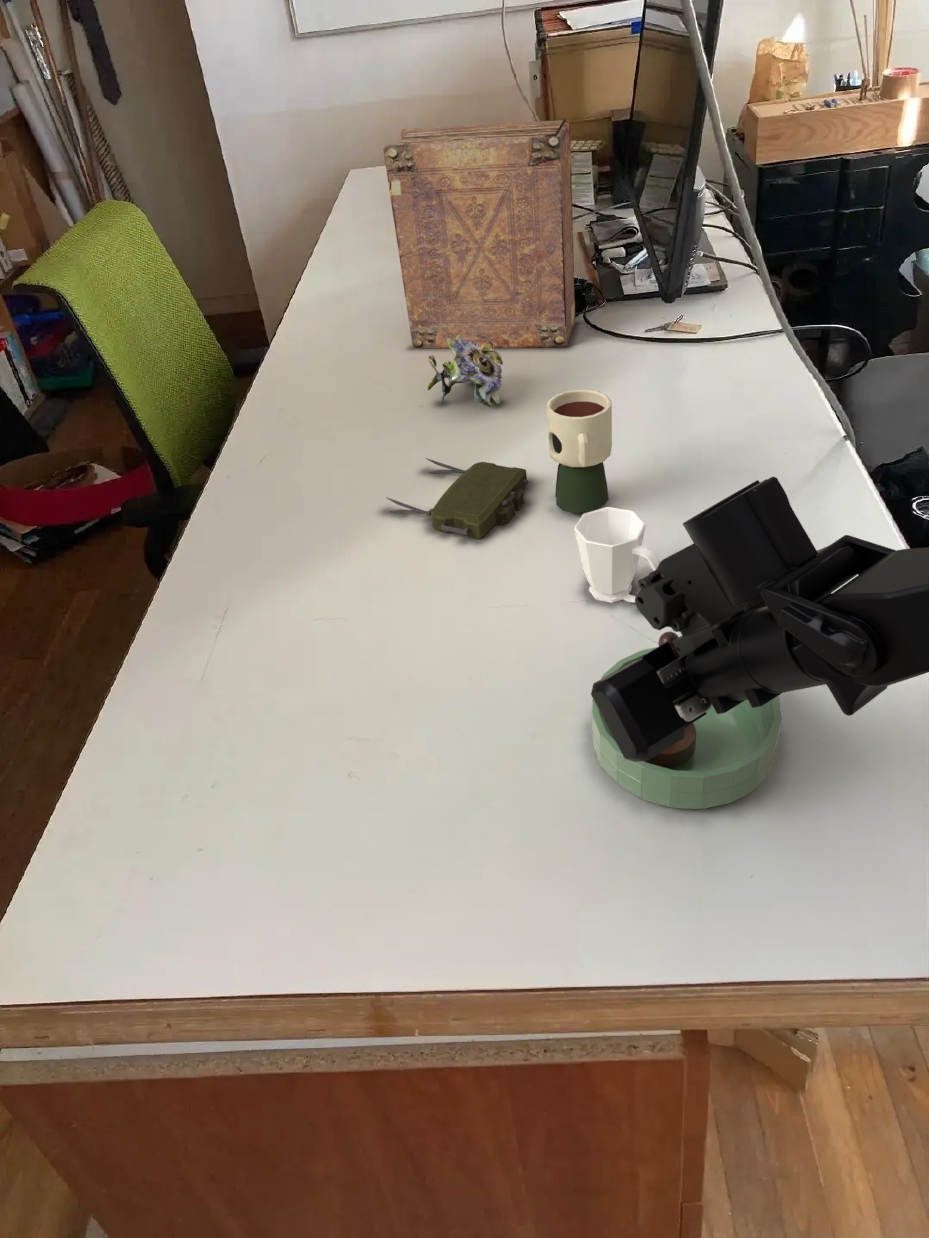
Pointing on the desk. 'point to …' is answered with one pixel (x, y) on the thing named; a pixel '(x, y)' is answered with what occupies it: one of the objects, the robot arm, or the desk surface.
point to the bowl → (699, 756)
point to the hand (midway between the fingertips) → (655, 681)
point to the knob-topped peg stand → (685, 746)
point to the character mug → (580, 447)
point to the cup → (611, 551)
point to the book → (485, 232)
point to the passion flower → (471, 370)
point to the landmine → (476, 499)
